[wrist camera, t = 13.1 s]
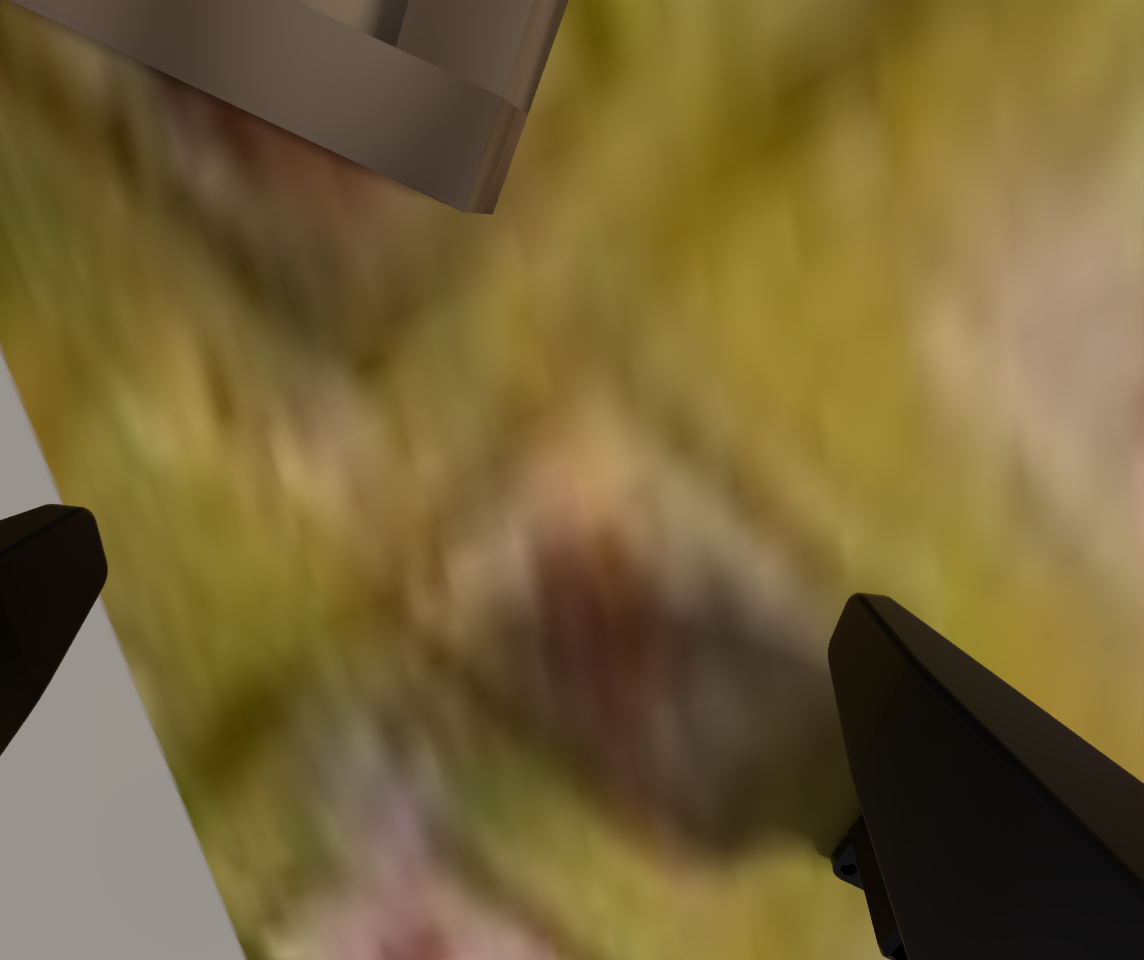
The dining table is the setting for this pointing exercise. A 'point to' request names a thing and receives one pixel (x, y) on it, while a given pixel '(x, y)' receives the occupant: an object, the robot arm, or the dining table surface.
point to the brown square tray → (354, 74)
